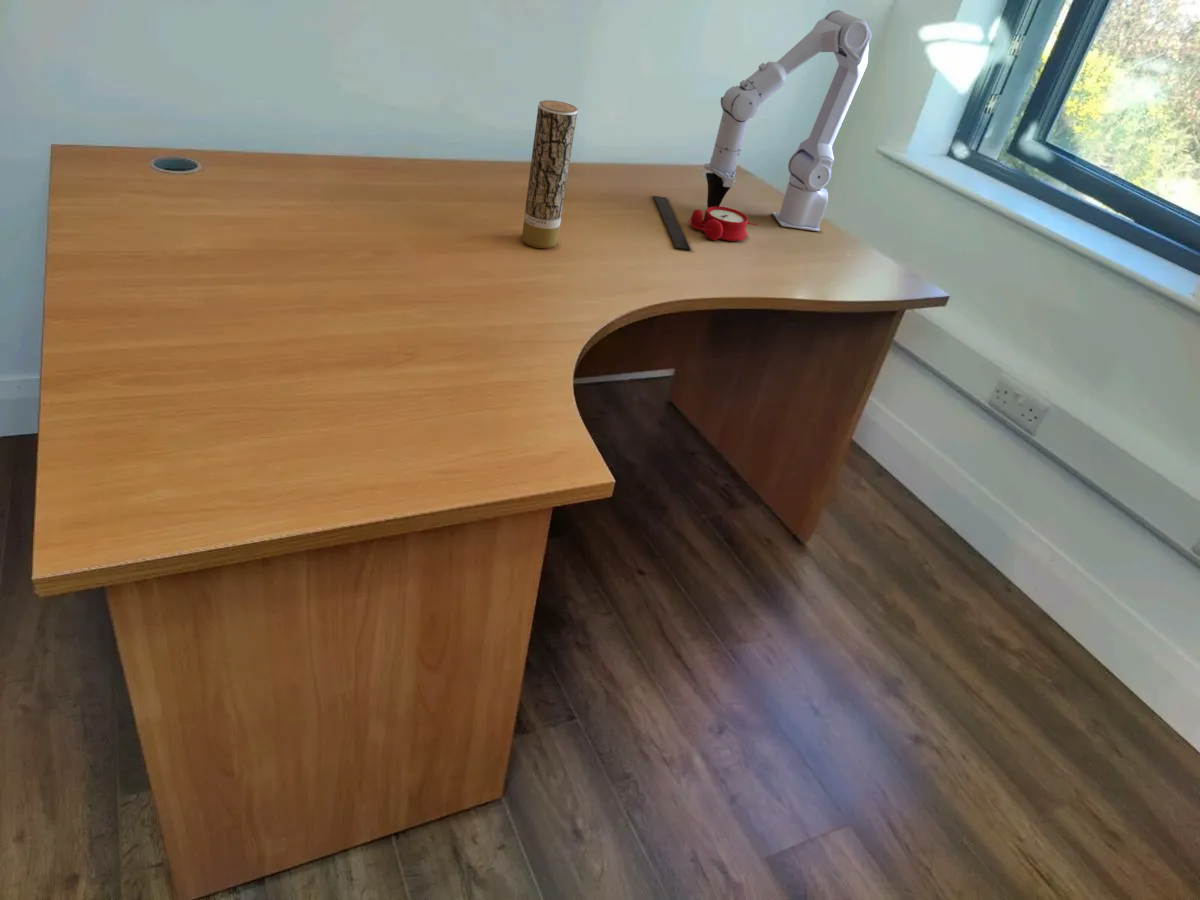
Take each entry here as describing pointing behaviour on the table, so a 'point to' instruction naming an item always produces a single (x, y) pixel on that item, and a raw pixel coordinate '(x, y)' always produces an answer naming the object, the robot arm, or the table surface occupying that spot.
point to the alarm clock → (721, 223)
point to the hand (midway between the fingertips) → (712, 208)
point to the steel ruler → (671, 223)
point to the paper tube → (548, 173)
